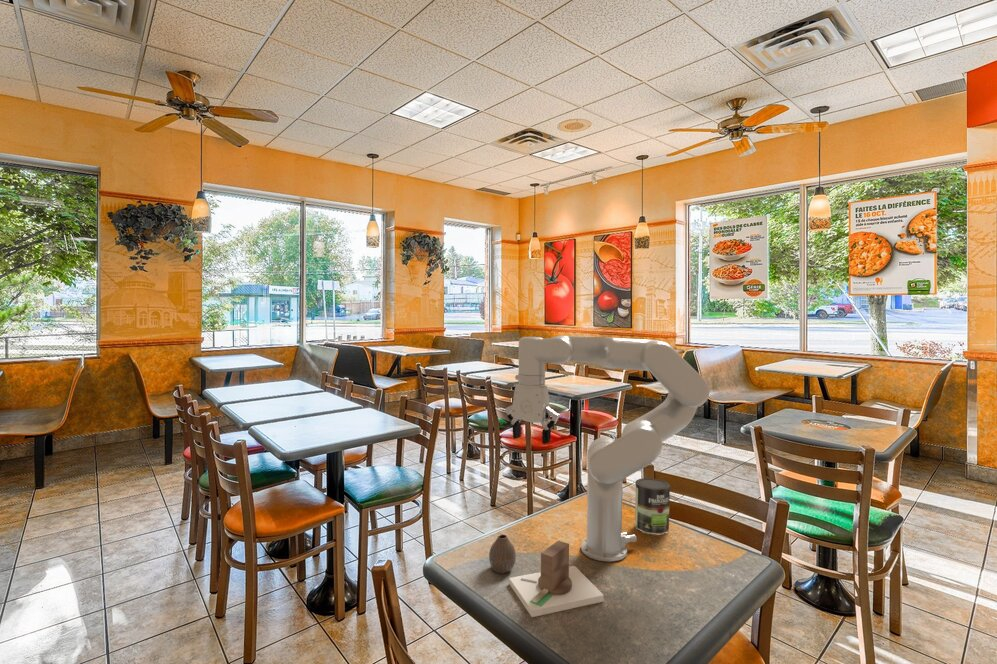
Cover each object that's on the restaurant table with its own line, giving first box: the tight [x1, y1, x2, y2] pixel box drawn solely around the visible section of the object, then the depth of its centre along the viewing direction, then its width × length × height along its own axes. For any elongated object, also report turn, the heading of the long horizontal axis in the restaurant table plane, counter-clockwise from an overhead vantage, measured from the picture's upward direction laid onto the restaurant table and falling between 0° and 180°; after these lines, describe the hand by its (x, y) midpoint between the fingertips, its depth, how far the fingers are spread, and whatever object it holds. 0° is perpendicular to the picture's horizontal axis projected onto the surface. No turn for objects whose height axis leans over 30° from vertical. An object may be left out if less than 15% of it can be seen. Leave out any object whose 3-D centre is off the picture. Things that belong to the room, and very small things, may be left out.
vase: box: [488, 534, 517, 574], centre depth 128 cm, size 7×7×9 cm
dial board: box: [508, 565, 605, 618], centre depth 117 cm, size 18×14×2 cm
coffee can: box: [634, 477, 671, 535], centre depth 153 cm, size 10×10×14 cm
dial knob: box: [533, 540, 572, 603], centre depth 115 cm, size 13×8×9 cm, turn 143°
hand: (531, 440), depth 140 cm, fingers open, 9 cm apart
